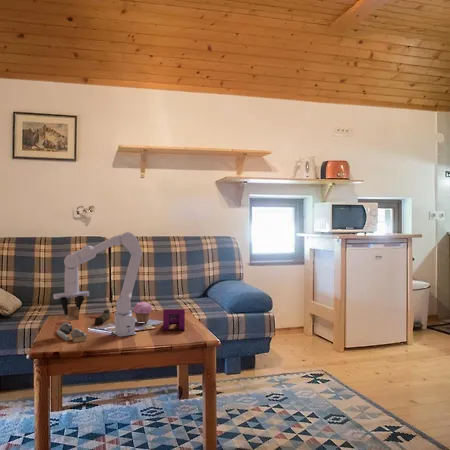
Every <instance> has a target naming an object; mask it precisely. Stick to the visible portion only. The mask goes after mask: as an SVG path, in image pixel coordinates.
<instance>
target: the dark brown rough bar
mask: <svg viewBox="0 0 450 450" xmlns="http://www.w3.org/2000/svg"><path fill="white" fill-rule="evenodd" d="M110 313H111V311H110V309H109V308H106V309H104V310H103V313H102V314H101V315H99V316H98V317H95V319H94V325H96V326H102V325H103V324H104V323H105V322H106V321H107V320H109V319H110V316H111V315H110Z"/></svg>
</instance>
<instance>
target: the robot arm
mask: <svg viewBox="0 0 450 450" xmlns="http://www.w3.org/2000/svg"><path fill="white" fill-rule="evenodd" d="M121 244H122V246H123V247H124V248H125V249H126V250H127V251H128V252H129V254H130V259H129V262H128V265H127V271H126V273H125V277H124V282H123V284H122V289H121V292H120V295H119V296H118V298H117V299H116V302H115V309H116V311H115V312H114V330H112V331H111V333H112V332H113V333H112V334H114V335H116V336H118V337H121V338H122V337H127V336H133V335H134V336H135V335H138V333H137V332H136V319H135V317H134V316H133V312H132V310H131V308H132V304H131V303H132V302H131V300H132V295H133V290H134V287H135V283H136V280H137V276H138V273H139V270H140V265H141V261H142V257H143V250H142V247H141V245H140V243H139V240H138V238H137V237H136V236H135V234H133V233H132V232H131V231H130V232H128V231H126V232H124V233H123V234H118V235H114V236H112V237H109V238H107V239H106V240H104V241H102V242H100V243H98V244H96V245H94V246H91V245H83V247H82V248H81V249H79V250H77V251H73V252H72V253H71V254H68V255H67V256H65V258H64V260H63V263H64V264H63V265H64V292H60V293H59V292H58V293H53V299H54V300H59V303H60V304H61V306H62V309H63V314H64V316H65V315H67V314H68V310H67V306H69V305H68V304H69V299H71V298H74V300H75V306H77V307H78V308H79V312H80V310H81V307H82V305H83V302H84V301H85V297H90V291H89V290H85V291H84V290H83V291H79V290H80V287H79V285H80V284H79V283H80V282H79V281H80V279H79V277H80V272H79V264H80V265H81V264H82V265H83V264H85V263H87V262H88V261H91V260H92V259H95V258H96V255H97V254H98V253H101V252H102V251H104V250H106V249H108V248H111V247H113V246H118V247H120V246H121Z"/></svg>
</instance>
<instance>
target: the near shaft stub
mask: <svg viewBox="0 0 450 450" xmlns="http://www.w3.org/2000/svg"><path fill="white" fill-rule="evenodd" d="M81 331H82V330H80V329H79V330H78V328H77V329H74V328H73V329H72V331H71V332H70V338H71V339H72V343H73V344H74V343H80V342H81V343H83V342H87V338H86V336H85V335H84V333H85V332H84V333H83V331H82V332H81Z"/></svg>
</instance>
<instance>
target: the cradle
mask: <svg viewBox="0 0 450 450" xmlns="http://www.w3.org/2000/svg"><path fill="white" fill-rule="evenodd" d="M74 329H78V328H76V327H75V328H73V330H74ZM78 330H80V329H78ZM80 331H81V332H83V331H82V330H80ZM83 333H84V335H85V336H86V339H87V338H88V334H87V333H86V332H83ZM56 335H58V336H59V337H60V338H61V339H63V340H64V341H66V342H67V341H70V336H69V335H67V334H66V333H64V332H62V331H60V330H59V331H58V330H56Z"/></svg>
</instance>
